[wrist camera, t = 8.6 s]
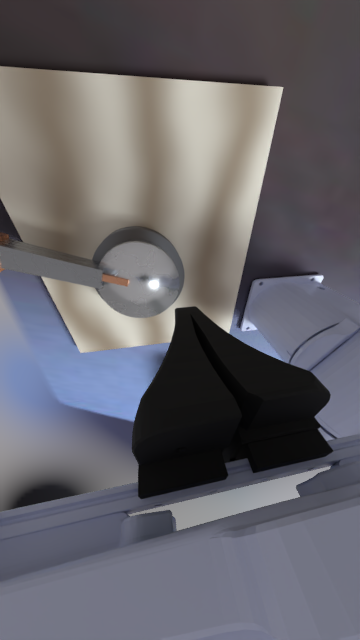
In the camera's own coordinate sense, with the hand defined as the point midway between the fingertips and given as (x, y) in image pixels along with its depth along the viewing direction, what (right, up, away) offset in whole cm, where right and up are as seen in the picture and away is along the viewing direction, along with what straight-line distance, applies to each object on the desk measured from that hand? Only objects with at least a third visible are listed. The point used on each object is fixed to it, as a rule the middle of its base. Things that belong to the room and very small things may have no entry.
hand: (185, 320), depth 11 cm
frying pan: (-8, +4, +3) cm, 10 cm away
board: (-4, +6, +7) cm, 10 cm away
